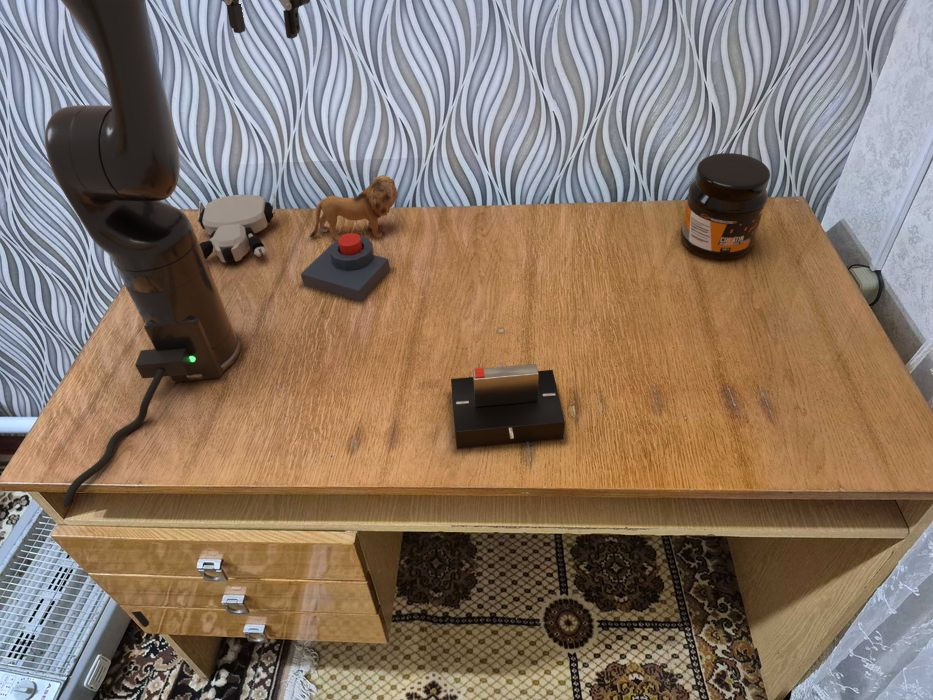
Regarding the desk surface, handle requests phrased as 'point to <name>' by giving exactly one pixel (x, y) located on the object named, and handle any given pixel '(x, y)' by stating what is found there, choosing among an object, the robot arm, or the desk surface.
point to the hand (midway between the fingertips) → (266, 34)
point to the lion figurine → (358, 206)
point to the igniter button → (350, 244)
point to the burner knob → (505, 385)
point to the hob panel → (507, 416)
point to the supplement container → (725, 205)
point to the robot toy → (235, 225)
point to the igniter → (346, 271)
